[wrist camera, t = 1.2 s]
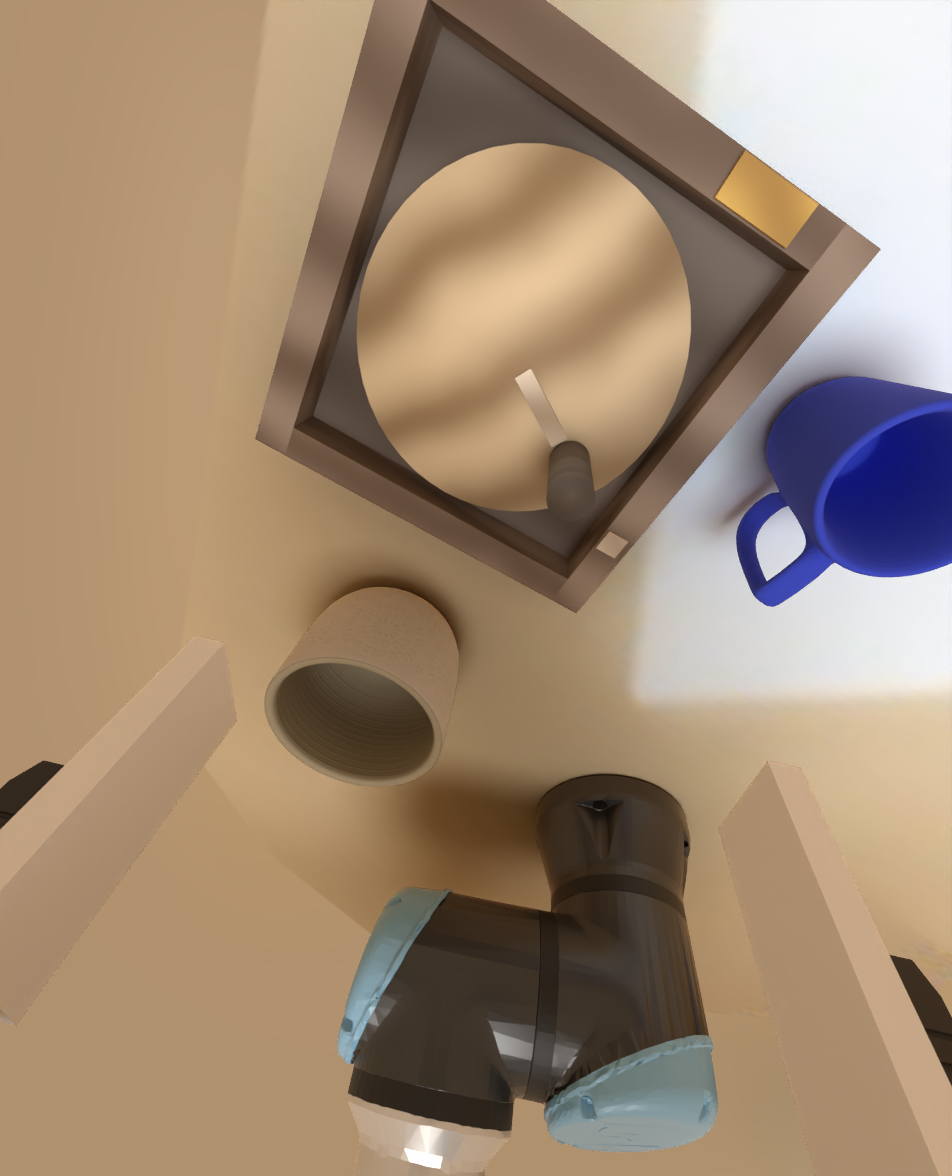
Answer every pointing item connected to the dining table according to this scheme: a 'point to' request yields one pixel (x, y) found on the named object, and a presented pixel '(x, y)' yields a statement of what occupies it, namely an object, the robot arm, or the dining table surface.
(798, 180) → the dining table surface
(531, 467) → the dial
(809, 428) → the mug
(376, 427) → the brown wooden tray
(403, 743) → the planter
